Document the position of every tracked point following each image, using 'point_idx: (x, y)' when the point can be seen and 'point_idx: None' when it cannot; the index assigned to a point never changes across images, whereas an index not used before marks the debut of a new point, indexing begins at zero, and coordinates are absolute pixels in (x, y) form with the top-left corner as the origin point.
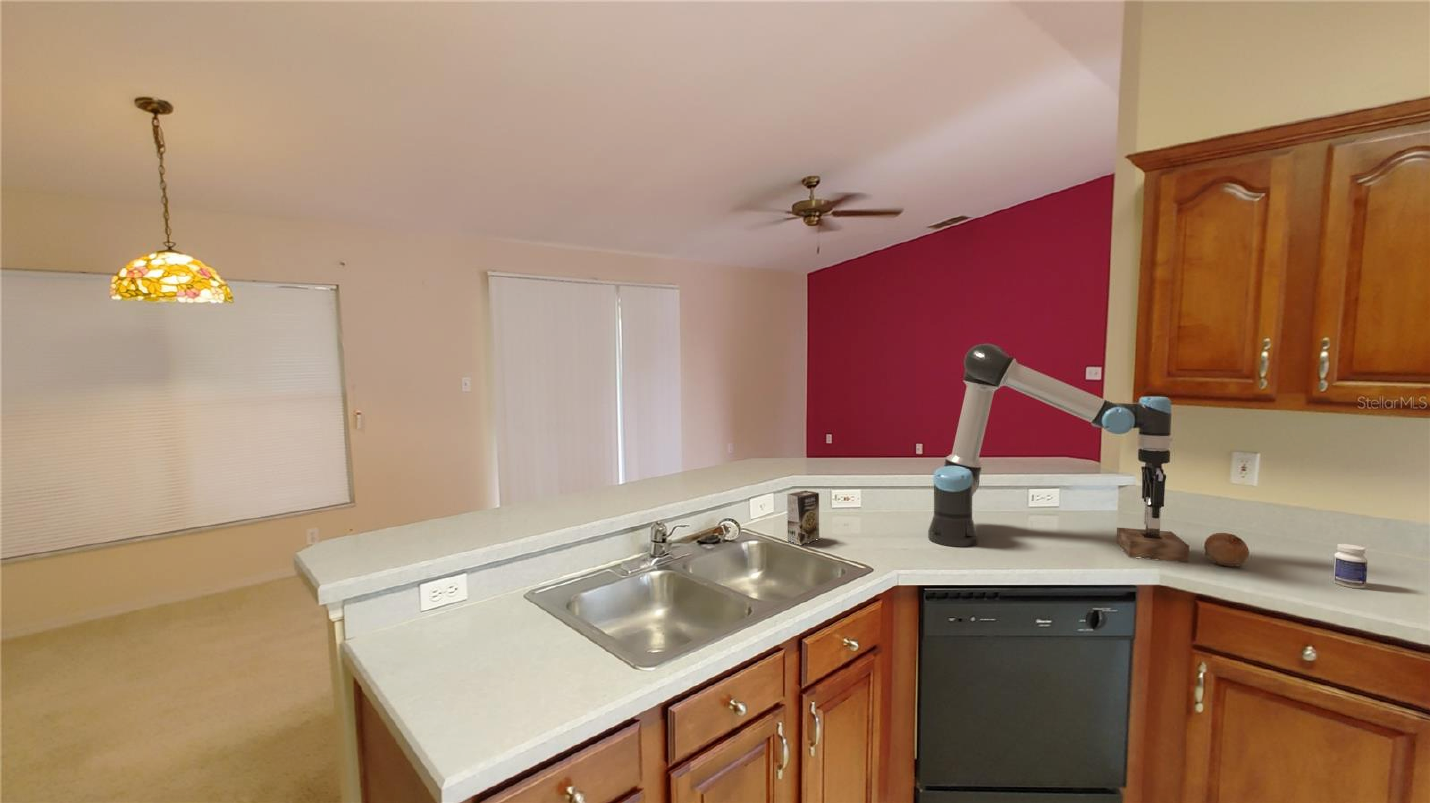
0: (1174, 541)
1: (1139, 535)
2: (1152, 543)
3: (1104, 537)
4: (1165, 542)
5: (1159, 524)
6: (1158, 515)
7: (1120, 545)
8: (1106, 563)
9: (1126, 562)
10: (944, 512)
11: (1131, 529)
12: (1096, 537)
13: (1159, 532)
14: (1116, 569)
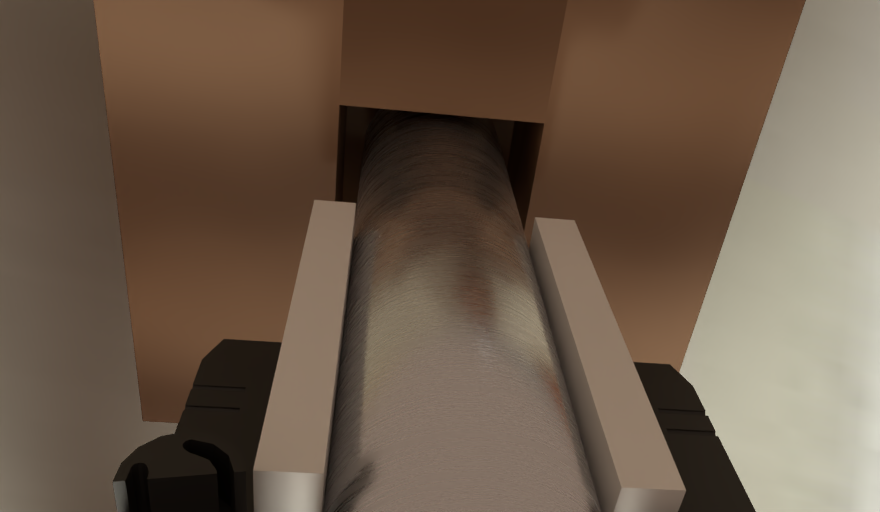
0: (644, 21)
1: None
2: (706, 280)
3: (30, 354)
4: (696, 151)
5: (584, 264)
6: (699, 415)
7: None
8: (755, 500)
9: (732, 391)
10: None
11: (178, 314)
12: (64, 410)
13: (492, 167)
14: (874, 480)
